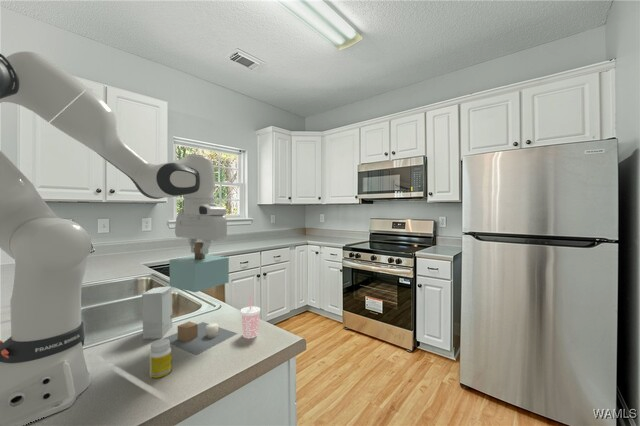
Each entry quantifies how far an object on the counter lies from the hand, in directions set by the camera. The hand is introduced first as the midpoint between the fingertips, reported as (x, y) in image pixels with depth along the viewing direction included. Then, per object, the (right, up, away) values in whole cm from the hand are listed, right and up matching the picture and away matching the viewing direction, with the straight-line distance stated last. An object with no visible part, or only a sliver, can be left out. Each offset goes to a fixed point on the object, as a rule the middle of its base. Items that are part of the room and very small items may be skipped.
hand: (199, 253), depth 86 cm
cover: (0, -10, 0) cm, 10 cm away
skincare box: (-15, -27, +3) cm, 31 cm away
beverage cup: (+15, -27, +2) cm, 31 cm away
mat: (0, -27, +1) cm, 27 cm away
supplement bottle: (-2, -28, -18) cm, 33 cm away
